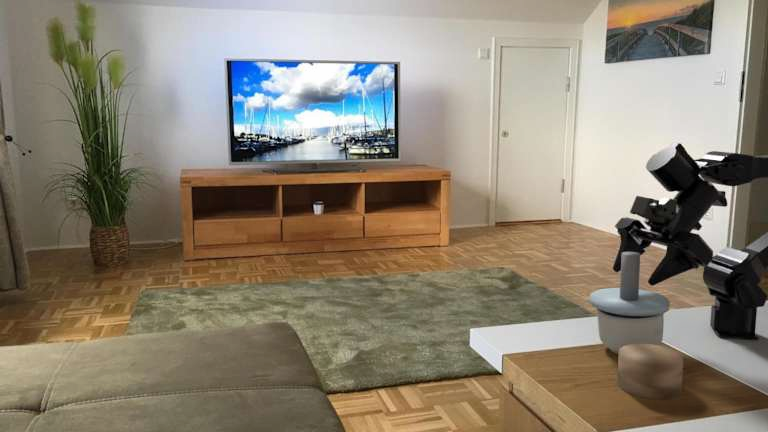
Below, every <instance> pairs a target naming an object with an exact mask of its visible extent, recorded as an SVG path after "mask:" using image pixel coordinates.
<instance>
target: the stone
mask: <svg viewBox="0 0 768 432" xmlns="http://www.w3.org/2000/svg"><path fill="white" fill-rule="evenodd" d="M617 360H618V362H617V363H618V364H617V384H618V385H617V386H618V387H619V388H620V389H622V390H623V391H625V392H626V393H629V394H630V395H633V396H636V397H640V398H643V399H650V400H651V399H652V400H668V399H674V398H676V397H678V396H680V394H682V388H683V386H682V385H683V373H684V372H683V371H684V357H683V355H682V354H681V353H680V352H678V351H677V350H674V349H673V348H670V347H666V346H663V345H660V346H659V345H653V344H630V345H626V346H623V347H621V348H620V349H619V354H618V358H617Z"/></svg>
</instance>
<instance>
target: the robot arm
mask: <svg viewBox="0 0 768 432" xmlns="http://www.w3.org/2000/svg"><path fill="white" fill-rule="evenodd" d="M645 168H646V170H647V172H649V174H650V175H652V177H653V178H654V179H655V180H656V181H657V182H658V183H659V184H660V185H661V186H662V187H663V188H664V189H665V191H667V192H677V194H676V195H675V196H674V197H673V198H670V197H665V196H664V197H662V198H660V200H658V199H654V198H651V197H647V196H641V195H636V197H635V198H634V201H633V203H632V206H631V208H630V210H629V213H630V214H631V215H637V216H639V217H641V218H644V220H643V223H642V221H640V220H639V219H636V218H631V217H621V218H620V219H619V220H618V222H617V223H616V224H615V225H614V228H616V230H617V231H616V232H617V234H618V235H619V237H620V245H619V249H618V252H617V255H616V258H615V260H614V263H613V266H612V270H613V272H615V273H619V272H621V256H622V252H637V253H640V256H642V255H644V253H646V250H645V249H647V248H648V247H650V246H651V244H652V243H653V244H657V245H661V246H665V247H666V253H665V255H664V257H663V258H662V259H661V261H660V262H659V264H658V265H657V267H656V268H655V269H654V271H653V272H652V274H651V275H650V276H649V278H648V280H647V284H649V285H650V286H652V287H653V286H656V285H657V284H660V283H662V282H664V281H666V280H668V279H670V278H672V277H675V276H677V275H679V274H683V273H685V272H688V271H691V270H693V269H694V270H697V269H699V268H700V266H701V267H702V268H703V273H702V280H703V283H704V285H705V286H706V287H707V290H708V293H709V295H710V296H713V297H714V304H712V305H711V307H710V309H711V310H710V321H709V322H710V323H709V324H710V327H711V328H712V330H713V331H714V332H715V333H716V335H717V336H718V337H719V338H726V339H727V338H728V339H729V338H731V339H746V340H748V339H749V340H751V339H752V340H759V335H758V334H757V333H756V326H757V325H756V324H757V316H758V315H757V314H758V308H762V307H764V306H765V303H766V301H767V299H768V294H767V293H766V292H765V290H763V289H762V288H761V287H760V286H759V284H760V283H762V280H763V277H764V274H765V271H766V269H768V231H766V232H765V233H764V234H763V235H761V236H760V237H759V238H757V239H756V240H754V241H753V242H751V243H750V244H749V245H747V246H746V247H745V248H743V249H736V248H733V247H731V246H726V247H724V248H723V249H721V250H720V251H719V252H718V253H716V254H715V255H714V251H713V249H712V248H711V247H710V246H709V245H708V243H707V242H706V241H705V240H704V239H703V237H702V236H701V235H700V234H698V233H694V232H692V231H693V230H694V231H701V229H702V227H703V225H702V224H701V223H700V221H701V220H702V219H703V217H705V215H706V214H707V213H708V211H709V210H710V209H711V208H712V206H714V207H724V208H726V207H727V206H728V200H727V197H726V190H725V191H724V190H719V189H718V188H717V187H716V186H715V185H720V186H726V187H738V186H742V185H746V184H750V183H752V182H755V181H756V180H758V179H762V178H768V154H767V155H766V154H765V155H763V154H762V155H752V154H751V155H750V154H744V153H738V152H737V153H736V152H729V151H728V152H727V151H715V150H713V151H707V152H706V153H705V154H704V156H703V157H701V158H698V159H697V158H696V159H694V158H693V157H692V156H691V155H690V154H689V153H688V151H687V150H686V148H685V147H684V146H683V145H682V143H678V142H672V143H671V144H670V145H669V146H668V147H665V148H663V149H661V150H659V151H658V152H657V153H656V154H655V153H654V154H652V156H651V157H650V158H649V159H648V161H646V165H645ZM714 184H715V185H714ZM644 224H645V225H646V226H648V227H649V229H647V227H646V226H645V225H644Z"/></svg>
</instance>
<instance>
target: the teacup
mask: <svg viewBox="0 0 768 432" xmlns="http://www.w3.org/2000/svg"><path fill="white" fill-rule="evenodd" d="M596 311H597V326H598V335H599V336H598V337H599V339H600V341H601V343H602V344H603V345H604V346H605V347H607V348H608V349H609V350H610V351H611V352H613V353H615V354H616V355H619V349H620V348H621V347H623V346H626V345H630V344H653V345H659V346H661V344H662V342H663V338H664V326H665V325H664V323H665V322H664V318H665V317H664V316H665V315H664V314H665V313H663V314H659V315H652V316H628V315H620V314H614V313H609V312H606V311H602V310H600V309H597V308H596Z"/></svg>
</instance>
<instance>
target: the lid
mask: <svg viewBox="0 0 768 432" xmlns="http://www.w3.org/2000/svg"><path fill="white" fill-rule="evenodd" d="M640 267H641V255H640V253H637V252H622V256H621V270H620V281H619V282H620V283H619V285H620V286H619V287H611V288H608V287H607V288H602V289H601V288H600V289H597V290H594V291H592V292H591V293H590V294H589V303H590V305H591V306H592V307H594V308H596V310H597V309H600V310H602V311H606V312H609V313H614V314H620V315H628V316H652V315H659V314H663V313H664V314H665V313H667V312H668V311H670V306H671V305H670V303H671V302H670V301H671V300H670V299H669V298H668V297H666V296H665V295H663V294H661V293H658V292H653V291H651V290H650V291H649V290H645V289H640V271H641V270H640Z"/></svg>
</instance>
